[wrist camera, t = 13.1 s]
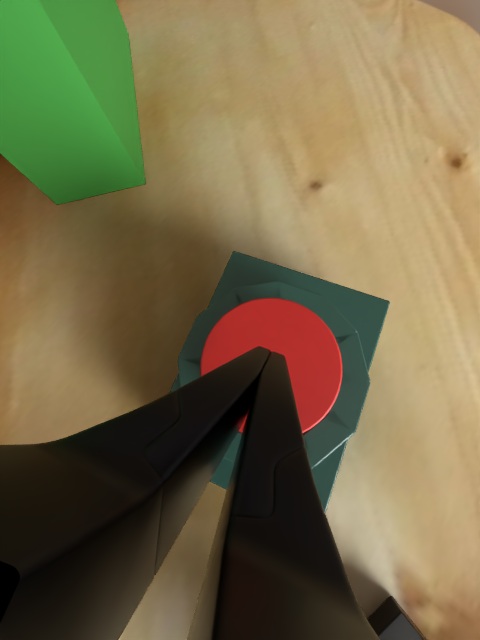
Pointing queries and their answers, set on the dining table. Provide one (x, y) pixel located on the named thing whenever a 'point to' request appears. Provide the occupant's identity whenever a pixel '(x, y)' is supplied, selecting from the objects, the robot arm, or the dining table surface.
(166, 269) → the dining table surface
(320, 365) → the stop button
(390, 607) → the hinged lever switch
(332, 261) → the dining table surface
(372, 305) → the green boxy piece
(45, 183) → the hardback book
